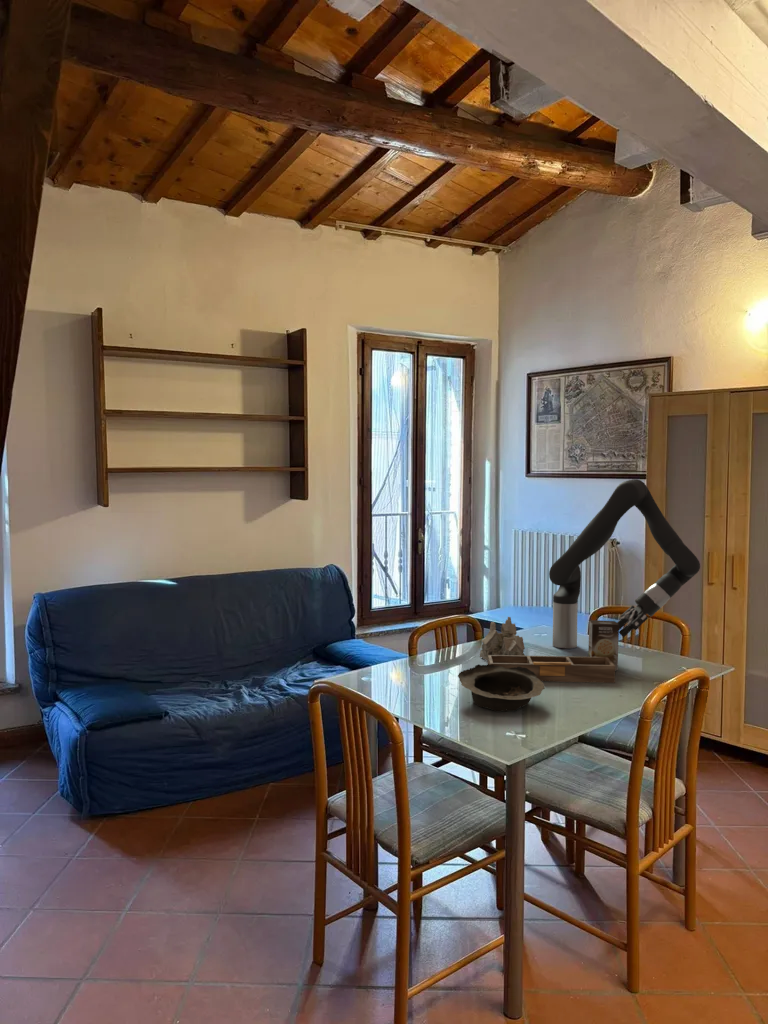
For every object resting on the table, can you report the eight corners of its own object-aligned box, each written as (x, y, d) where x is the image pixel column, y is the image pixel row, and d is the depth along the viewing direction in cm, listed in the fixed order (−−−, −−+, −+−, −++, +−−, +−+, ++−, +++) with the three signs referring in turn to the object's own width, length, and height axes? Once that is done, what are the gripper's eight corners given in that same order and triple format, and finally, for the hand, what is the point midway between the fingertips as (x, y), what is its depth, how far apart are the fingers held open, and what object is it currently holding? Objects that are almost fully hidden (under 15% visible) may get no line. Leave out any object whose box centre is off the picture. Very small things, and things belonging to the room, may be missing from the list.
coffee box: (590, 670, 249) (591, 623, 248) (587, 665, 256) (588, 619, 255) (618, 670, 249) (619, 624, 248) (614, 665, 255) (615, 620, 254)
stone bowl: (486, 685, 232) (488, 657, 231) (557, 707, 216) (560, 677, 215) (442, 703, 213) (444, 673, 212) (517, 729, 197) (520, 696, 196)
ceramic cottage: (478, 652, 273) (480, 613, 271) (522, 654, 272) (525, 615, 270) (480, 666, 257) (482, 625, 255) (527, 669, 256) (530, 627, 254)
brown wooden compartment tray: (487, 670, 249) (488, 653, 248) (607, 673, 246) (607, 655, 245) (490, 680, 237) (490, 662, 237) (615, 683, 234) (615, 664, 234)
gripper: (639, 588, 257) (605, 620, 258) (651, 595, 242) (615, 629, 244) (654, 603, 257) (620, 635, 258) (666, 611, 242) (631, 644, 244)
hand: (618, 632), depth 251 cm, fingers open, 8 cm apart
